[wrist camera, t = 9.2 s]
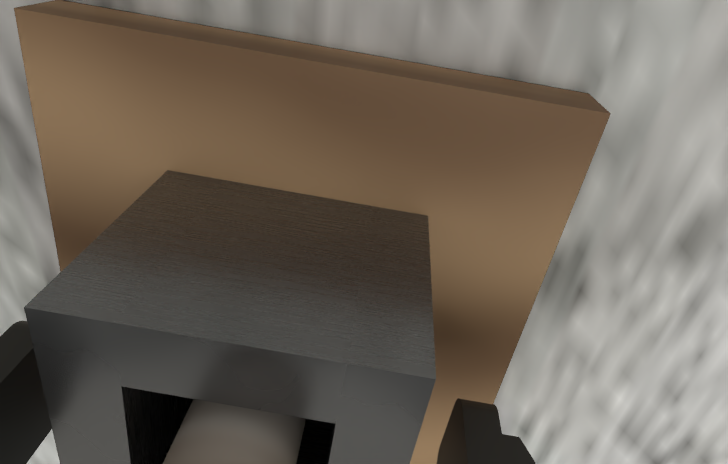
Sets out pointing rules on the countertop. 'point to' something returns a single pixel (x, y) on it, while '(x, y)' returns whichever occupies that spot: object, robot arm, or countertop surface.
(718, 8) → the countertop surface
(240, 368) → the block
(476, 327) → the shaft block
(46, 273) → the countertop surface
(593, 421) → the countertop surface
